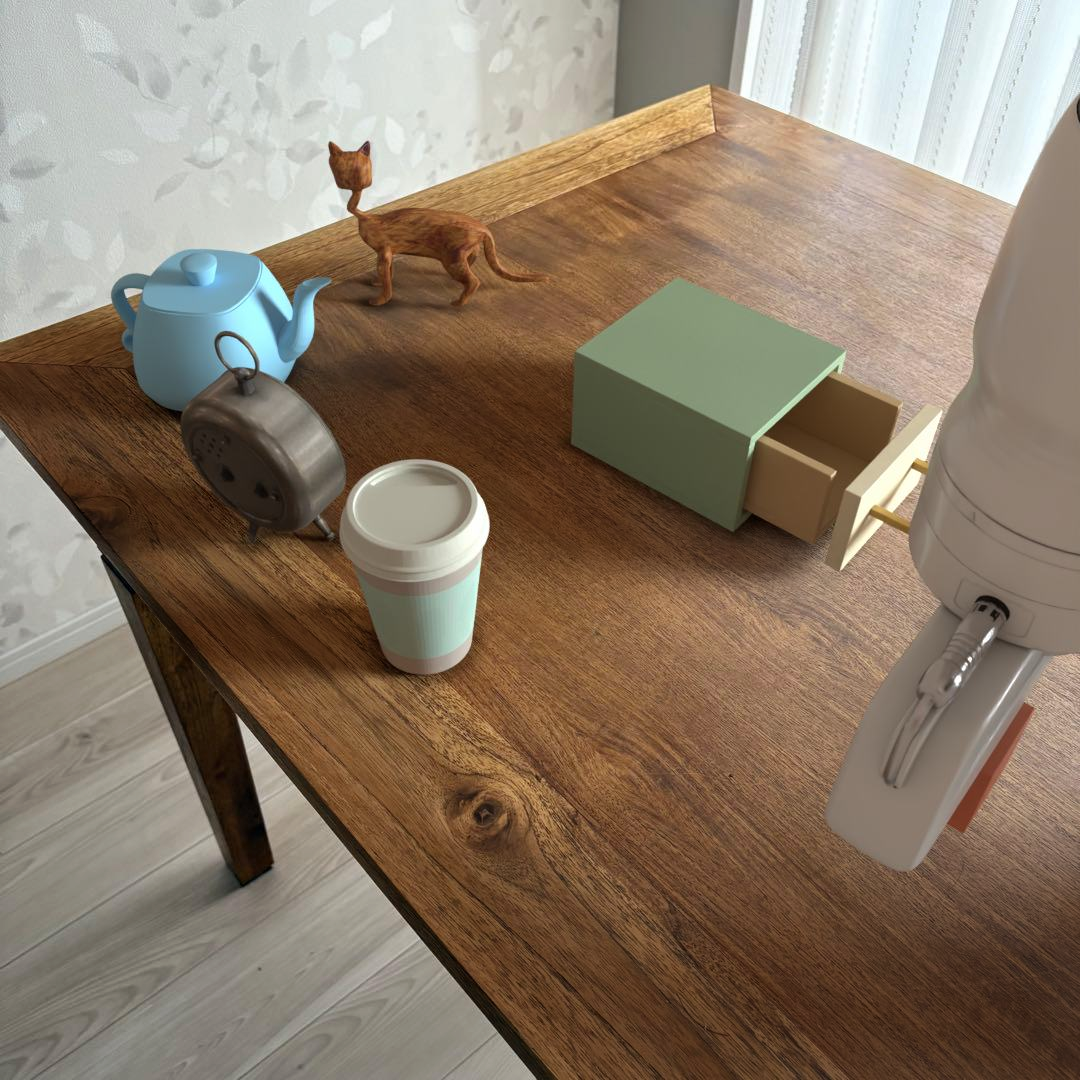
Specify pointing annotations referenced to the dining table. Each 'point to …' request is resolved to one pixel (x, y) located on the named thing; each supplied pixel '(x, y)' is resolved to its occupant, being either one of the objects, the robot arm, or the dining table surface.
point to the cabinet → (692, 393)
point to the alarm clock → (263, 449)
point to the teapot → (211, 321)
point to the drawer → (839, 465)
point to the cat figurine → (417, 232)
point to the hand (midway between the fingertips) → (948, 751)
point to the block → (990, 771)
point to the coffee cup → (417, 559)
